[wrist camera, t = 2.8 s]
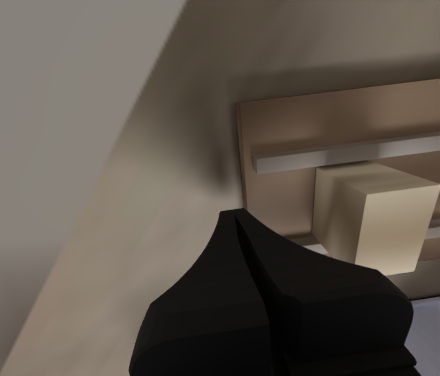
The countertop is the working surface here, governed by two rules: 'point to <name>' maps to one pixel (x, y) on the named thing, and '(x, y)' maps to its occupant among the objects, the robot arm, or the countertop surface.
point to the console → (335, 149)
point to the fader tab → (372, 215)
